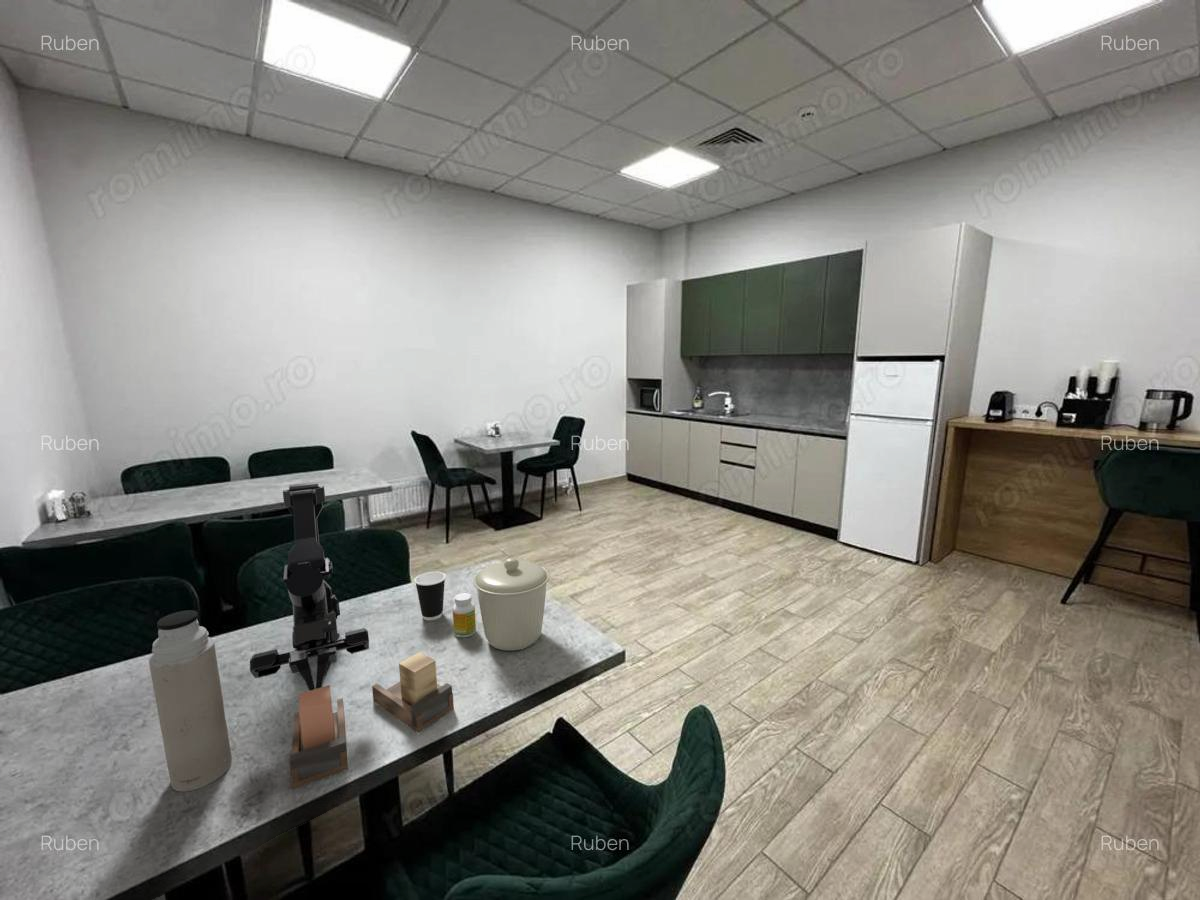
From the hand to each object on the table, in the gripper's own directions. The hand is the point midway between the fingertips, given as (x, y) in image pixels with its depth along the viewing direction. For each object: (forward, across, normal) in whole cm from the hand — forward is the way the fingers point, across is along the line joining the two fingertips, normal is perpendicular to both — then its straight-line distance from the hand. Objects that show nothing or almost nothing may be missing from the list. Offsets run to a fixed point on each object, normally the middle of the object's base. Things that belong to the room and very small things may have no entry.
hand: (316, 700), depth 87 cm
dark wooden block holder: (+7, 0, +4) cm, 8 cm away
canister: (-4, +42, +16) cm, 45 cm away
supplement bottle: (-10, +32, +22) cm, 40 cm away
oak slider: (+5, +17, +4) cm, 18 cm away
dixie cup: (-19, +26, +31) cm, 45 cm away
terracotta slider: (+7, 0, +3) cm, 7 cm away
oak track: (+5, +16, +7) cm, 18 cm away
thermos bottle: (+4, -17, +7) cm, 19 cm away
